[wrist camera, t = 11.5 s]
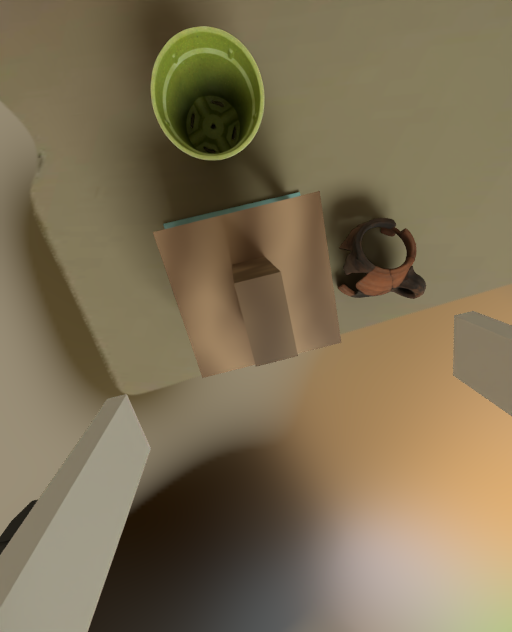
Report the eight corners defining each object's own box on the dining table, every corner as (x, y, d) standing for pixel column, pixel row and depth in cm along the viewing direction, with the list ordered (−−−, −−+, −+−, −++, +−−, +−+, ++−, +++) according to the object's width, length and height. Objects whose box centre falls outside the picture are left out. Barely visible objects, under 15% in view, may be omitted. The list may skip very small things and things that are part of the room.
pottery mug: (315, 285, 39) (336, 261, 31) (341, 231, 41) (367, 196, 33) (393, 324, 39) (435, 310, 31) (415, 267, 41) (459, 241, 33)
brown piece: (290, 200, 35) (362, 176, 16) (309, 309, 39) (382, 385, 21) (176, 228, 34) (117, 237, 16) (209, 334, 39) (193, 434, 21)
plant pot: (246, 183, 34) (252, 171, 26) (165, 163, 32) (145, 144, 24) (262, 92, 31) (275, 47, 23) (175, 66, 30) (156, 8, 22)
